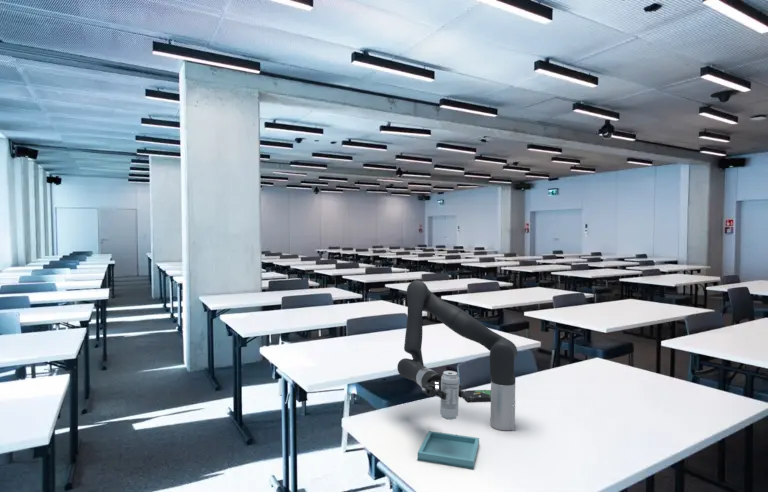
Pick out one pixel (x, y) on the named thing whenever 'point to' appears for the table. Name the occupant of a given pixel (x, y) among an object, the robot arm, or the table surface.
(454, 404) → the energy drink can
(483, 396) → the disk drive
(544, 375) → the table surface
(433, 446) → the tray
